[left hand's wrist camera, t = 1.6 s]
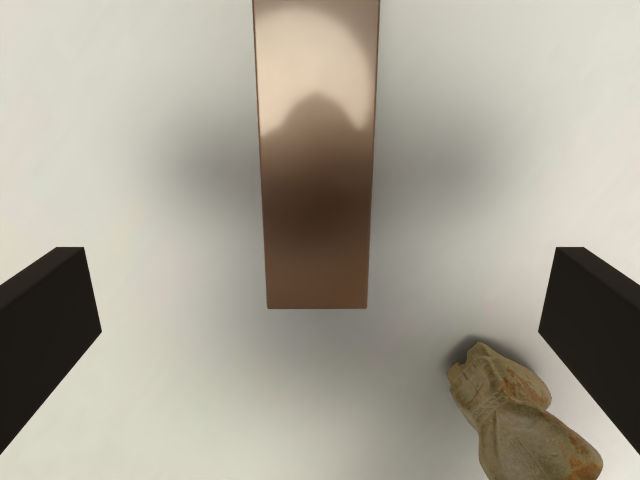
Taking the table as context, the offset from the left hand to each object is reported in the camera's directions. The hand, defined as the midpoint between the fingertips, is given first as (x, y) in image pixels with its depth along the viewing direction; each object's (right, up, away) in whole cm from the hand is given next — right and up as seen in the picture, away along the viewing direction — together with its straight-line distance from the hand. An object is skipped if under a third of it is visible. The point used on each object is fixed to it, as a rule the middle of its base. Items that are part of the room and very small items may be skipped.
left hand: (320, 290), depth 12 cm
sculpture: (+12, -8, +20) cm, 25 cm away
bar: (0, +12, +12) cm, 17 cm away
